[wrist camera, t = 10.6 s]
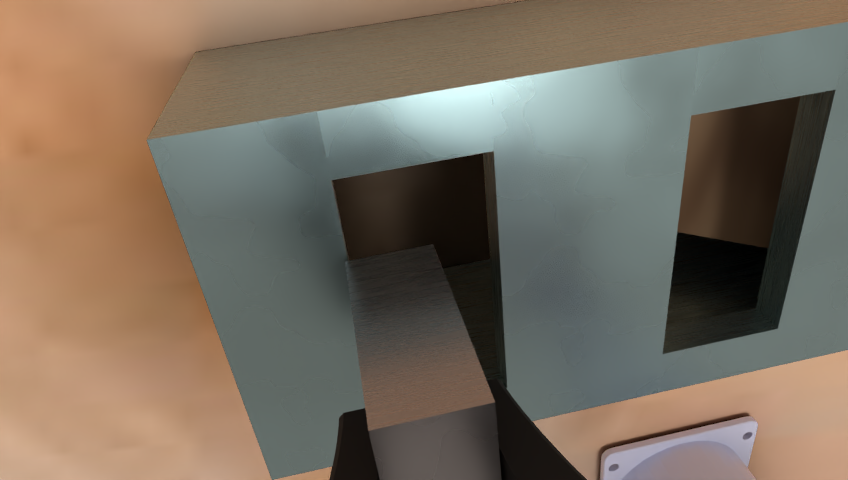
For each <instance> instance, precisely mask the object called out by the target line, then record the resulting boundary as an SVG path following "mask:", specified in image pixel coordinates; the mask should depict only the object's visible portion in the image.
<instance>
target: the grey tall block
mask: <svg viewBox="0 0 848 480" xmlns="http://www.w3.org/2000/svg"><path fill="white" fill-rule="evenodd" d="M345 265H346V272H347V280H348V287H349V294H350V301H351V309H352V316H353V323H354V330H355V338H356V345H357V352H358V359H359V367H360V374H361V381H362V388H363V396H364V403H365V410H366V417H367V425H368V431H369V436H370V440H371V444H372V448H373V453H374V457H375V461H376V465H377V470H378V474H379V478H380V480H502V479H501V467H500V455H499V442H498V430H497V418H496V406H495V400H494V398H493V395H492V393H491V390H490V388H489V385H488V383H487V380H486V378H485V375H484V372H483V370H482V367H481V365H480V362H479V360H478V357H477V355H476V352H475V350H474V347H473V344H472V342H471V339H470V337H469V334H468V332H467V329H466V327H465V324H464V322H463V319H462V316H461V314H460V311H459V309H458V306H457V304H456V301H455V299H454V296H453V294H452V291H451V288H450V286H449V283H448V281H447V278H446V276H445V273H444V271H443V268H442V266H441V263H440V260H439V258H438V255H437V253H436V250H435V248H434V245H433V244H430V245H425V246H420V247H415V248H410V249H405V250H400V251H395V252H390V253H385V254H380V255H375V256H370V257H365V258H360V259H355V260H350V261H345Z"/></svg>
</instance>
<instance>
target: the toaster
mask: <svg viewBox="0 0 848 480" xmlns="http://www.w3.org/2000/svg"><path fill="white" fill-rule="evenodd" d="M797 96H801V97H800V101H799V106H798V111H797V116H796V120H795V125H794V130H793V134H792V139H791V144H790V148H789V153H788V158H787V162H786V167H785V172H784V177H783V181H782V186H781V191H780V195H779V200H778V205H777V209H776V214H775V219H774V224H773V228H772V233H771V238H770V242H769V247H768V248H764V247H759V246H753V245H747V244H742V243H736V242H731V241H725V240H719V239H714V238H708V237H703V236H697V235H691V234H686V233H680V232H677V229H678V221H679V212H680V204H681V196H682V187H683V179H684V171H685V162H686V154H687V146H688V137H689V129H690V121H691V116H692V115H697V114H703V113H708V112H714V111H719V110H725V109H731V108H736V107H742V106H747V105H753V104H758V103H764V102H769V101H775V100H781V99H786V98H792V97H797ZM147 142H148V145H149V148H150V151H151V153H152V156H153V159H154V161H155V164H156V167H157V170H158V172H159V175H160V178H161V180H162V183H163V186H164V189H165V191H166V194H167V197H168V199H169V202H170V205H171V207H172V210H173V213H174V216H175V218H176V221H177V224H178V226H179V229H180V232H181V235H182V237H183V240H184V243H185V245H186V248H187V251H188V254H189V256H190V259H191V262H192V264H193V267H194V270H195V272H196V275H197V278H198V281H199V283H200V286H201V289H202V291H203V294H204V297H205V300H206V302H207V305H208V308H209V310H210V313H211V316H212V319H213V321H214V324H215V327H216V329H217V332H218V335H219V338H220V340H221V343H222V346H223V348H224V351H225V354H226V356H227V359H228V362H229V365H230V367H231V370H232V373H233V375H234V378H235V381H236V384H237V386H238V389H239V392H240V394H241V397H242V400H243V403H244V405H245V408H246V411H247V413H248V416H249V419H250V421H251V424H252V427H253V430H254V432H255V435H256V438H257V440H258V443H259V446H260V449H261V451H262V454H263V457H264V459H265V462H266V465H267V468H268V470H269V473H270V476H271V478H272V480H274V479H278V478H283V477H287V476H292V475H296V474H300V473H305V472H309V471H314V470H318V469H323V468H327V467H331V466H333V461H334V456H335V450H336V444H337V436H338V426H339V417H340V416H341V415H342V414H343V413H345V412H349V411H354V410H358V409H363V408H365V403H364V396H363V388H362V381H361V374H360V367H359V359H358V352H357V345H356V338H355V330H354V323H353V316H352V309H351V301H350V294H349V287H348V280H347V272H346V265H345V261H349V256H348V251H347V246H346V242H345V237H344V232H343V227H342V222H341V218H340V213H339V208H338V203H337V199H336V194H335V189H334V184H333V180H336V179H341V178H347V177H352V176H358V175H364V174H369V173H375V172H380V171H386V170H391V169H397V168H403V167H408V166H414V165H419V164H425V163H430V162H436V161H441V160H447V159H453V158H458V157H464V156H469V155H475V154H480V153H483V161H484V176H485V191H486V206H487V221H488V236H489V251H490V259H487V260H482V261H477V262H472V263H467V264H462V265H457V266H452V267H447V268H443V271H444V273H445V276H446V278H447V281H448V283H449V286H450V288H451V291H452V294H453V296H454V299H455V301H456V304H457V306H458V309H459V311H460V314H461V316H462V319H463V322H464V324H465V327H466V329H467V332H468V334H469V337H470V339H471V342H472V344H473V347H474V350H475V352H476V355H477V357H478V360H479V362H480V365H481V367H482V370H483V372H484V375H485V378H486V380H487V381H488V380H492V379H498V380H500V381H501V382H502V383H503V384H504V386H505V387H506V389H507V390H508V391H509V393H510V394H511V396H512V397H513V398H514V400H515V401H516V402H517V404H518V405H519V406H520V407H521V409H522V410H523V411H524V412H525V414H526V415H527V416H528V417H529V418H530V420H531V421H535V420H539V419H544V418H548V417H553V416H557V415H562V414H566V413H570V412H575V411H579V410H584V409H588V408H593V407H597V406H601V405H606V404H610V403H615V402H619V401H623V400H628V399H632V398H637V397H641V396H646V395H650V394H654V393H659V392H663V391H668V390H672V389H677V388H681V387H685V386H690V385H694V384H699V383H703V382H708V381H712V380H716V379H721V378H725V377H730V376H734V375H739V374H743V373H747V372H752V371H756V370H761V369H765V368H770V367H774V366H778V365H783V364H787V363H792V362H796V361H801V360H805V359H809V358H814V357H818V356H823V355H827V354H831V353H836V352H840V351H845V350H848V0H527V1H521V2H514V3H508V4H501V5H495V6H489V7H482V8H476V9H469V10H463V11H457V12H450V13H444V14H437V15H431V16H424V17H418V18H412V19H405V20H399V21H392V22H386V23H380V24H373V25H367V26H360V27H354V28H347V29H341V30H335V31H328V32H322V33H315V34H309V35H302V36H296V37H290V38H283V39H277V40H270V41H264V42H258V43H251V44H245V45H238V46H232V47H225V48H219V49H213V50H206V51H200V52H195V54H194V56H193V58H192V59H191V61H190V63H189V65H188V67H187V68H186V70H185V72H184V74H183V76H182V77H181V79H180V81H179V83H178V85H177V86H176V88H175V90H174V92H173V93H172V95H171V97H170V99H169V101H168V102H167V104H166V106H165V108H164V110H163V111H162V113H161V115H160V117H159V119H158V120H157V122H156V124H155V126H154V128H153V129H152V131H151V133H150V135H149V137H148V138H147Z"/></svg>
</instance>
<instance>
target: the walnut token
mask: <svg viewBox="0 0 848 480" xmlns="http://www.w3.org/2000/svg"><path fill="white" fill-rule="evenodd" d="M800 97H801V96H797V97H792V98H786V99H781V100H775V101H769V102H764V103H758V104H753V105H747V106H742V107H736V108H731V109H725V110H719V111H714V112H708V113H703V114H697V115H692V116H691V121H690V129H689V137H688V146H687V154H686V162H685V171H684V179H683V187H682V196H681V204H680V212H679V221H678V229H677V232H680V233H686V234H691V235H697V236H703V237H708V238H714V239H719V240H725V241H731V242H736V243H742V244H747V245H753V246H759V247H764V248H768V247H769V242H770V238H771V233H772V228H773V224H774V219H775V214H776V209H777V205H778V200H779V195H780V191H781V186H782V181H783V177H784V172H785V167H786V162H787V158H788V153H789V148H790V144H791V139H792V134H793V130H794V125H795V120H796V116H797V111H798V106H799V101H800Z"/></svg>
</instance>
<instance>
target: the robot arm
mask: <svg viewBox="0 0 848 480" xmlns="http://www.w3.org/2000/svg"><path fill="white" fill-rule="evenodd" d="M487 383H488V385H489V388H490V390H491V393H492V395H493V398H494V400H495V406H496V418H497V430H498V442H499V455H500V467H501V479H502V480H587V479H586V478H585V477H584V476H583V475H581V474H580V473H579V472H578V471H577V470H576V469H575V468H574V467H573V466H572V465H571V464H570V463H569V462H568V460H567V459H566V458H565V457H564V456H563V455H562V454H561V453H560V452H559V451H558V450H557V449H556V448H555V447H554V446H553V444H552V443H551V442H550V441H549V440H548V439H547V438H546V437H545V436H544V435H543V434H542V432H541V431H540V430H539V429H538V428H537V427H536V426H535V424H534V423H533V422H532V421H531V420H530V418H529V417H528V416H527V415H526V414H525V412H524V411H523V410H522V409H521V407H520V406H519V405H518V404H517V402H516V401H515V400H514V398H513V397H512V396H511V394H510V393H509V391H508V390H507V389H506V387H505V386H504V384H503V383H502V382H501V381H500V380H498V379H492V380H488V381H487ZM757 428H758V423H757V422H756V421H755V420H754V418H753V417H750V416H746V417H742V418H737V419H733V420H729V421H724V422H720V423H716V424H712V425H707V426H703V427H699V428H694V429H690V430H686V431H682V432H677V433H673V434H669V435H664V436H660V437H656V438H652V439H647V440H643V441H639V442H634V443H630V444H626V445H622V446H617V447H613V448H610V449H607V450H606V451H605V452H604V453H603V454H602V457H601V471H600V480H756V478H755V477H754V476H753V474H752V473H751V472H750V471H749V469H748V464H749V460H750V456H751V452H752V448H753V444H754V440H755V436H756V432H757ZM329 480H380V478H379V474H378V470H377V465H376V461H375V457H374V453H373V448H372V444H371V440H370V436H369V431H368V425H367V417H366V410H365V408H363V409H358V410H354V411H349V412H345V413H343V414H342V415H341V416H340V417H339V426H338V436H337V444H336V450H335V456H334V461H333V466H332V471H331V475H330V479H329Z"/></svg>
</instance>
